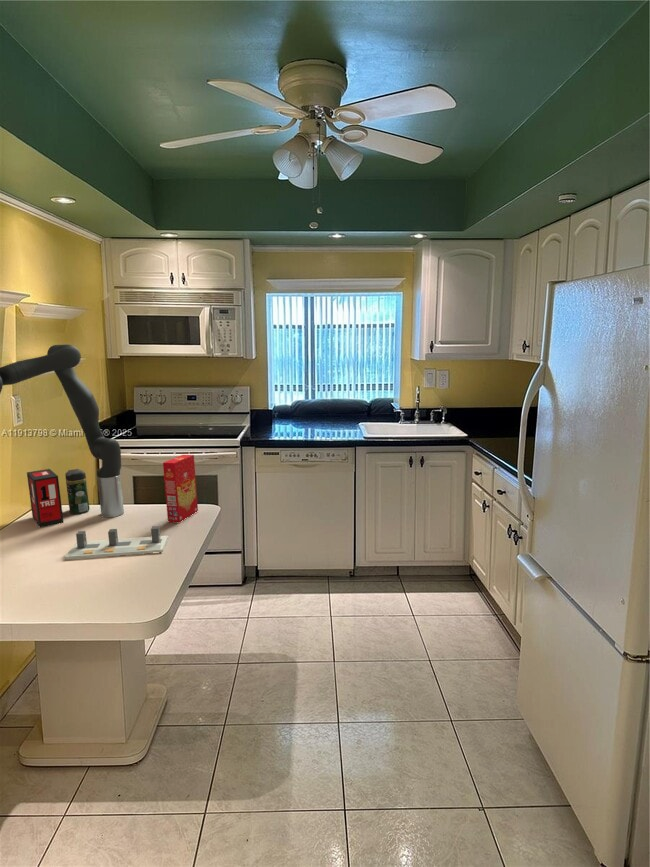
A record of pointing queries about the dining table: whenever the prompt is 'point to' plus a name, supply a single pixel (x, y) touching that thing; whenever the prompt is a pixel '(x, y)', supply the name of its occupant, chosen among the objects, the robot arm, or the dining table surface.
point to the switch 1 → (81, 539)
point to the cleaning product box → (45, 497)
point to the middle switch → (113, 536)
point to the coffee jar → (77, 491)
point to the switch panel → (117, 548)
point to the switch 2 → (155, 533)
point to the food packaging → (180, 487)
